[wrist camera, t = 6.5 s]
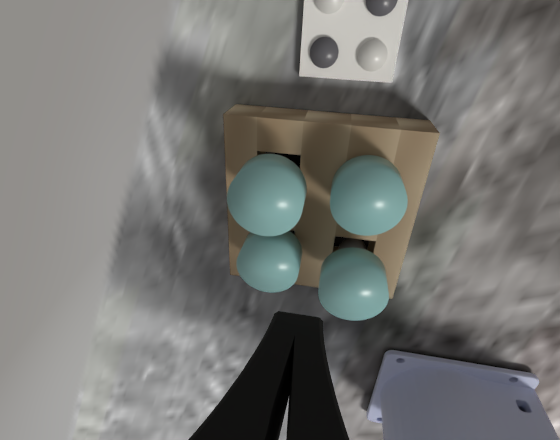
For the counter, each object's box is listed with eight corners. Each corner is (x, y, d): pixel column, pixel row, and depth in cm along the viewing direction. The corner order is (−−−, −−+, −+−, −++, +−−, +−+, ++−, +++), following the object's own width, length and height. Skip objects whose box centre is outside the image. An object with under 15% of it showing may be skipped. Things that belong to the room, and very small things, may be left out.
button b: (308, 209, 18) (300, 246, 15) (304, 254, 20) (296, 296, 17) (253, 202, 19) (235, 238, 16) (253, 247, 20) (237, 287, 17)
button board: (429, 120, 15) (439, 133, 14) (388, 274, 20) (392, 298, 18) (236, 104, 17) (223, 114, 15) (239, 253, 21) (230, 274, 20)
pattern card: (413, -32, 13) (415, -34, 13) (391, 81, 15) (392, 83, 15) (307, -35, 13) (306, -37, 13) (300, 75, 15) (298, 76, 15)
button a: (387, 228, 17) (395, 273, 14) (376, 275, 18) (381, 325, 16) (326, 220, 17) (322, 263, 14) (320, 267, 19) (315, 315, 16)
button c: (403, 143, 16) (415, 173, 13) (389, 201, 17) (398, 239, 14) (337, 137, 16) (334, 164, 13) (329, 194, 18) (325, 230, 15)
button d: (314, 141, 15) (305, 171, 12) (308, 201, 17) (299, 240, 14) (248, 135, 16) (225, 163, 13) (249, 194, 17) (228, 231, 14)
